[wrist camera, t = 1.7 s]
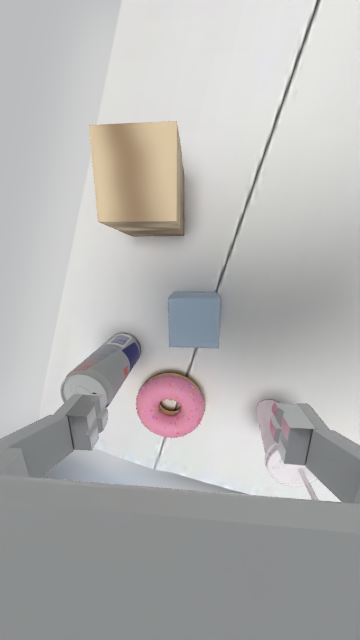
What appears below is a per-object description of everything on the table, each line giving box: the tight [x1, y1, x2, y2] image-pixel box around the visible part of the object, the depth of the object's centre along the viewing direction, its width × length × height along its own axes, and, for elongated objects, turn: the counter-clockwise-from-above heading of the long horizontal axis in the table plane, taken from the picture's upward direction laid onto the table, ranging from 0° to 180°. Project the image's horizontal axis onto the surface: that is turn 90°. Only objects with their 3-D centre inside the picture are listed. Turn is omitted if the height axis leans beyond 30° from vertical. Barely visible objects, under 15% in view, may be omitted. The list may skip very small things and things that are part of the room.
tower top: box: [89, 121, 182, 231], centre depth 19 cm, size 7×7×5 cm
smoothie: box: [256, 400, 319, 501], centre depth 26 cm, size 6×6×14 cm
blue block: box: [168, 292, 221, 348], centre depth 27 cm, size 6×6×6 cm
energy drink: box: [61, 333, 141, 407], centre depth 26 cm, size 5×5×12 cm
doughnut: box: [136, 373, 205, 438], centre depth 32 cm, size 11×11×4 cm
